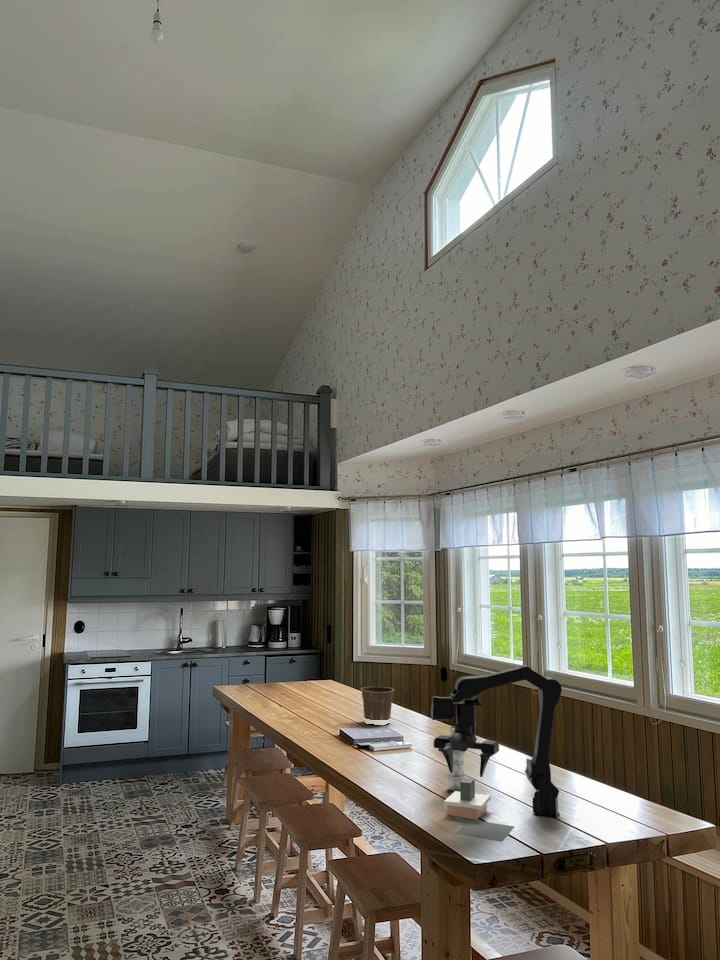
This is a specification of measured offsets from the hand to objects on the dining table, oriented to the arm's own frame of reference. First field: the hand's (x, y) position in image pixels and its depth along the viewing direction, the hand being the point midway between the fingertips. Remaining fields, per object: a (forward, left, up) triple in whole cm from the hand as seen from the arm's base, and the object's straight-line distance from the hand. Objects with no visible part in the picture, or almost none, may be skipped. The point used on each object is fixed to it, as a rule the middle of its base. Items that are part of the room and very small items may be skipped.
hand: (466, 774), depth 215 cm
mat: (-9, +12, -11) cm, 19 cm away
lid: (0, 0, -8) cm, 8 cm away
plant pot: (+80, -110, -12) cm, 136 cm away
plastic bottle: (+11, -22, -12) cm, 27 cm away
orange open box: (0, 0, -12) cm, 12 cm away
